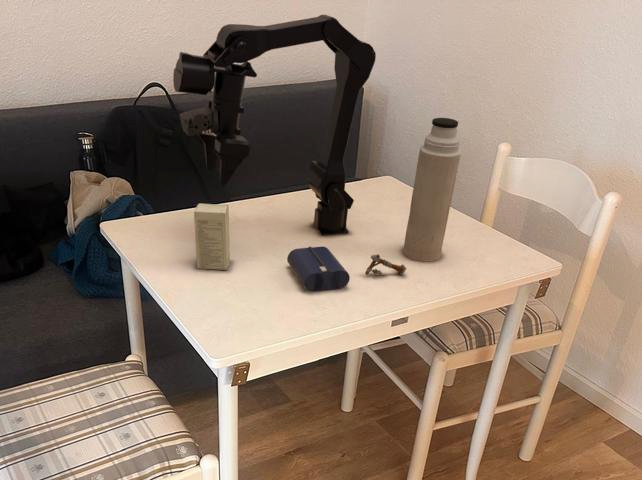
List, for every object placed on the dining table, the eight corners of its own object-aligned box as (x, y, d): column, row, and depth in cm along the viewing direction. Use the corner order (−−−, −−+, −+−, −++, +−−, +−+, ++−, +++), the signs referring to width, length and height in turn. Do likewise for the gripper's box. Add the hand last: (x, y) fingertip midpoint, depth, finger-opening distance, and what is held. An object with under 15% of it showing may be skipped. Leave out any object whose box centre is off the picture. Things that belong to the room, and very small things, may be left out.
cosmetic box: (230, 261, 138) (230, 204, 131) (227, 271, 134) (227, 213, 127) (199, 259, 138) (197, 202, 131) (195, 268, 135) (193, 210, 128)
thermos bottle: (440, 248, 147) (466, 116, 132) (440, 263, 141) (467, 127, 125) (403, 243, 149) (425, 112, 133) (402, 259, 142) (424, 123, 126)
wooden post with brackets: (360, 270, 135) (371, 250, 133) (392, 282, 138) (403, 263, 136) (363, 274, 133) (374, 254, 131) (395, 286, 137) (407, 267, 135)
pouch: (329, 263, 139) (330, 244, 137) (348, 288, 130) (351, 268, 128) (286, 267, 137) (287, 247, 134) (303, 292, 128) (305, 272, 126)
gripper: (174, 82, 133) (166, 160, 141) (200, 105, 119) (189, 191, 127) (227, 88, 137) (216, 164, 145) (258, 112, 123) (244, 194, 131)
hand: (215, 177), depth 137 cm, fingers open, 9 cm apart
